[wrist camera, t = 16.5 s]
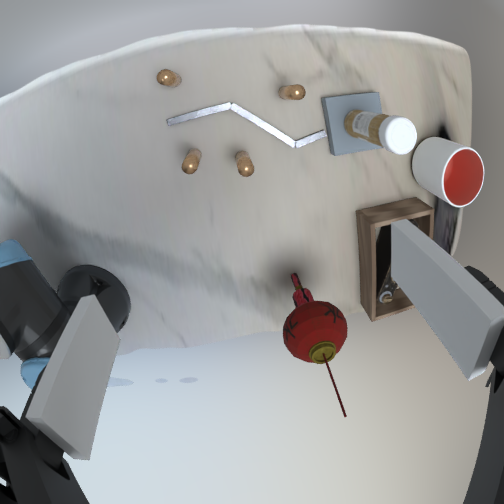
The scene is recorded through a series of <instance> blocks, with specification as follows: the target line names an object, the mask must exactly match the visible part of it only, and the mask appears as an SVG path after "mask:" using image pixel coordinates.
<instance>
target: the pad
mask: <svg viewBox="0 0 504 504" xmlns="http://www.w3.org/2000/svg"><path fill="white" fill-rule="evenodd" d="M321 100H322V105H323V110H324V116H325V121H326V127H327V133H328V139H329V145H330V151H331V154H333V155H334V156H337V155H343V154H348V153H354V152H360V151H366V150H372V149H378V148H384V147H381V146H378V145H376V144H372V143H369V142H366V141H363V140H361V139H359V138H354V137H352V136H350V135H349V134H348V133H347V132H346V129H345V126H344V121H345V118H346V116H347V114H348V113H349V112H351V111H353V110H362V111H368V112H374V113H380V114H382V109H381V103H380V96H379V92H369V93H359V94H349V95H341V96H333V97H326V98H321Z"/></svg>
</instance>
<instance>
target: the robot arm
mask: <svg viewBox="0 0 504 504" xmlns="http://www.w3.org/2000/svg"><path fill="white" fill-rule="evenodd" d="M391 277H392V278H393V279H394V281H395V282H396V283H397V284H398V285H399V287H400V288H401V289H402V290H403V292H404V293H405V294H406V296H407V297H408V298H409V299H410V301H411V302H412V303H413V305H414V306H415V307H416V308H417V310H418V311H419V312H420V314H421V315H422V316H423V317H424V319H425V320H426V322H427V323H428V324H429V325H430V327H431V328H432V330H433V331H434V332H435V333H436V335H437V336H438V338H439V339H440V340H441V342H442V343H443V345H444V346H445V348H446V349H447V350H448V352H449V353H450V355H451V356H452V358H453V359H454V361H455V362H456V363H457V365H458V366H459V368H460V369H461V371H462V372H463V374H464V375H465V377H466V378H467V380H468V381H469V380H471V379H473V378H474V377H476V376H478V375H480V374H482V373H484V372H485V370H486V367H487V365H488V363H489V361H491V362H492V364H493V365H494V369H493V371H492V373H491V375H490V377H489V379H488V381H487V384H486V387H488V386H489V384H490V382H491V387H490V395H489V402H488V409H487V414H486V420H485V425H484V430H483V435H482V440H481V444H480V449H479V453H478V457H477V460H476V464H475V468H474V471H473V475H472V478H471V481H470V485H469V488H468V491H467V494H466V497H465V500H464V502H463V504H504V292H503V291H501V290H500V289H499V288H498V287H496V285H495V284H494V283H493V282H492V281H490V280H489V278H488V277H487V276H485V275H484V274H483V273H482V272H481V271H479V270H477V269H475V268H473V267H471V266H467V267H462V266H461V265H460V264H459V263H458V262H457V261H456V260H455V259H453V258H452V257H451V256H450V255H449V254H448V253H447V252H446V251H444V250H443V249H442V248H441V247H440V246H439V245H437V244H436V243H435V242H434V241H433V240H432V239H430V238H429V237H428V236H427V235H426V234H424V233H423V232H422V231H421V230H419V229H418V228H417V227H416V226H415V225H413V224H412V223H411V222H410V221H408V220H407V219H403V220H399V221H395V222H391ZM130 309H131V303H130V298H129V295H128V293H127V291H126V289H125V287H124V286H123V285H122V283H121V282H120V281H119V280H118V279H117V278H116V277H115V276H113V275H112V274H111V273H109V272H107V271H106V270H104V269H101V268H99V267H95V266H89V265H82V266H77V267H74V268H72V269H71V270H69V271H68V272H67V273H66V274H65V276H64V277H63V279H62V280H61V282H60V284H59V286H58V290H57V294H56V293H55V291H54V290H53V289H52V287H51V286H50V285H49V283H48V282H47V281H46V279H45V278H44V276H43V275H42V274H41V272H40V271H39V270H38V268H37V267H36V265H35V264H34V262H33V259H32V258H31V257H29V256H28V254H27V253H26V252H25V250H24V249H23V247H22V246H21V245H20V243H19V242H17V241H16V240H12V239H10V240H6V241H4V242H3V243H1V244H0V359H8V358H9V357H10V356H11V355H12V353H13V352H14V353H15V354H16V355H17V356H18V357H19V358H20V359H21V360H22V361H23V363H22V365H21V376H22V377H23V380H24V382H25V383H26V384H27V386H29V387H30V388H31V389H32V391H31V392H32V394H30V396H29V398H28V401H27V403H26V406H25V408H24V411H23V413H22V416H21V419H20V420H19V419H17V418H16V417H15V416H14V415H13V414H12V413H11V412H10V411H9V410H8V409H7V408H5V407H4V406H2V407H1V406H0V477H1V478H2V479H4V480H5V481H6V486H4V485H2V484H1V483H0V504H89V502H88V500H87V499H86V497H85V495H84V493H83V491H82V490H81V488H80V486H79V484H78V482H77V480H76V478H75V476H74V474H73V473H72V471H71V468H70V466H69V464H68V463H67V461H66V460H65V459H64V458H63V453H64V452H66V453H67V454H68V455H69V456H71V457H72V458H73V459H81V460H90V454H91V450H92V445H93V441H94V436H95V432H96V427H97V423H98V419H99V415H100V411H101V407H102V403H103V399H104V395H105V392H106V388H107V384H108V381H109V377H110V374H111V370H112V366H113V363H114V360H115V356H116V353H117V350H118V347H119V343H120V340H121V339H120V338H119V336H118V334H117V333H118V332H119V331H120V330H121V329H122V328H123V326H124V325H125V323H126V322H127V319H128V316H129V313H130Z"/></svg>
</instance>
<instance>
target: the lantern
mask: <svg viewBox="0 0 504 504" xmlns="http://www.w3.org/2000/svg"><path fill="white" fill-rule="evenodd" d="M291 278H292V281H293V283H294V286H295V290H296V291H295V292H294V294H293V297H292V298H293V300H294V303H295V306H296V308H295V309H294V310H293V311H292V312H291V314H290V315H289V316H288V317H287V318H286V321H285V324H284V326H283V338H284V344H285V345H286V347H287V348H288V350H289V351H290V352H291V354H292V355H293V356H294V357H296V358H299V359H301V360H303V361H306V362H311V363H312V362H313V363H317V364H323V363H326V365H327V368H328V371H329V374H330V377H331V379H332V382H333V385H334V388H335V391H336V394H337V397H338V400H339V402H340V405H341V408H342V411H343V414H344V417H346V413H345V410H344V407H343V405H342V401H341V399H340V396H339V393H338V390H337V387H336V385H335V382H334V379H333V376H332V374H331V371H330V368H329V365H328V362H329V361H331V360H332V359H333V358H334V356H335V355H336V353H338V352H339V351H340V349H341V347H342V346H343V344H344V342H345V340H346V338H347V323H346V319H345V317H344V315H343V314H342V312H341V311H340V310H339V309H338V308H337V307H336V306H334V305H332V304H331V303H329V302H323V301H314V299H313V297H312V294H311V292H310V291H309V290H308V289H307V288H302V285H301V283H300V280H299V278H298V276H297V274H296V273H293V274H292V275H291Z"/></svg>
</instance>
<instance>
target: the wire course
mask: <svg viewBox="0 0 504 504" xmlns="http://www.w3.org/2000/svg"><path fill="white" fill-rule="evenodd" d="M157 81H158V82H159V83H160V84H162V85H167V86H171V87H176V86H178V85H179V84H180V83H181V77H180V76H179V75H177V74H176V73H174V72H172V71H170V70H167V69H164V70H161V71H160V72H159V73H158V75H157ZM305 93H306V92H305V89H304V87H303V86H301V85H290V86H284V87H281V88H280V89H279V96H280V97H281V98H282V99H291V100H300V99H302V98H304V96H305ZM228 109H231V110H233V111H235V112H236V113H238V114H240V115H241V116H243V117H245V118H247V119H248V120H250V121H252V122H253V123H255V124H257V125H258V126H260V127H261V128H263V129H265V130H266V131H268V132H270V133H271V134H273V135H274V136H276V137H277V138H279V139H281V140H282V141H284V142H285V143H287V144H288V145H290V146H291V147H293V148H294V147H296V148H298V147H301V146H303V145H306V144H308V143H311V142H313V141H316V140H318V139H321V138H323V137H326V133H325V130H321V131H319V132H316V133H314V134H311V135H309V136H306V137H304V138H301V139H299V140H296V141H294V140H293V139H291V138H290V137H288V136H287V135H285V134H283V133H282V132H280V131H279V130H277V129H276V128H274V127H272V126H271V125H269V124H268V123H266V122H264V121H263V120H261V119H260V118H258V117H256V116H255V115H253V114H251V113H250V112H248V111H246V110H245V109H243V108H241V107H239V106H238V105H236V104H234V103H232V104H230V102H229V103H225V104H221V105H217V106H213V107H209V108H205V109H201V110H198V111H194V112H191V113H187V114H184V115H180V116H177V117H174V118H170V119H167V123H168V126H170V125H173V124H177V123H180V122H183V121H187V120H190V119H194V118H198V117H201V116H205V115H209V114H212V113H216V112H220V111H224V110H228ZM200 158H201V152H200V151H199V150H198V149H192V150H190V151H189V153H188V154H187V156H186V158H185V160H184V161H183V163H182V170H183V171H184V172H185V173H187V174H193V173H194V172H195V171H196V170H197V167H198V164H199V161H200ZM236 162H237V167H238V171H239V173H240V174H241V175H242V176H244V177H248V176H250V175H252V174H253V172H254V166H253V164H252V162H251V160H250V157H249V155H248V154H247V153H246V152H245V151H240V152H238V153H237V154H236Z"/></svg>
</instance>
